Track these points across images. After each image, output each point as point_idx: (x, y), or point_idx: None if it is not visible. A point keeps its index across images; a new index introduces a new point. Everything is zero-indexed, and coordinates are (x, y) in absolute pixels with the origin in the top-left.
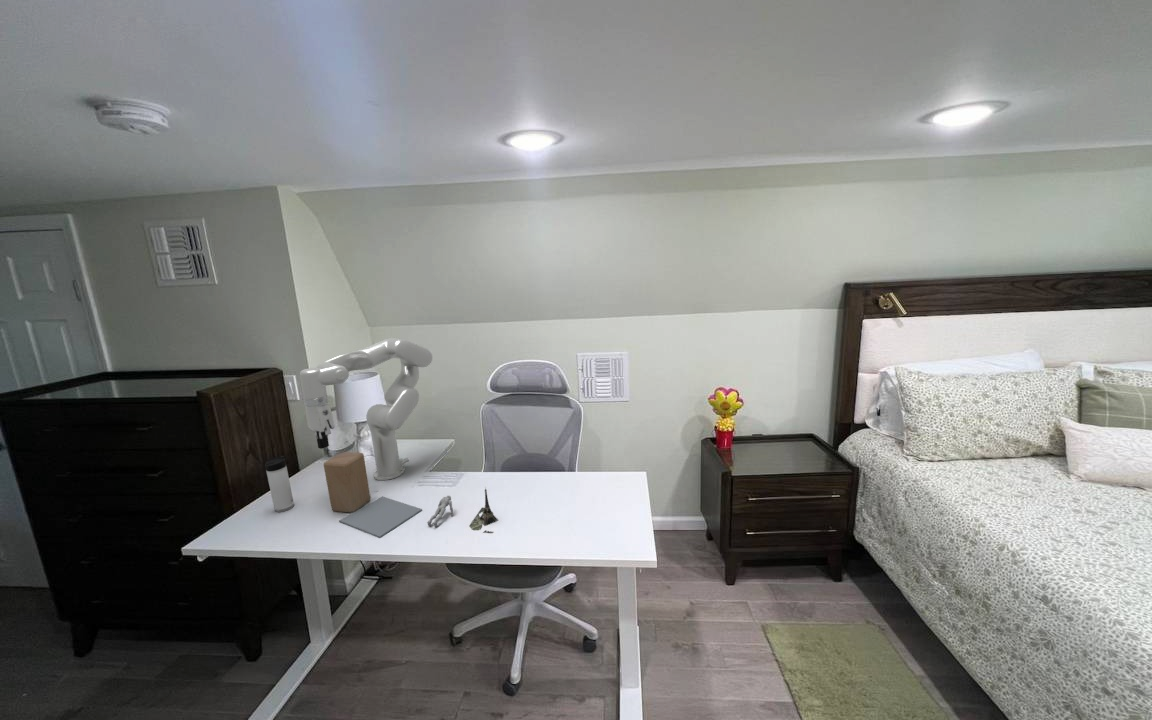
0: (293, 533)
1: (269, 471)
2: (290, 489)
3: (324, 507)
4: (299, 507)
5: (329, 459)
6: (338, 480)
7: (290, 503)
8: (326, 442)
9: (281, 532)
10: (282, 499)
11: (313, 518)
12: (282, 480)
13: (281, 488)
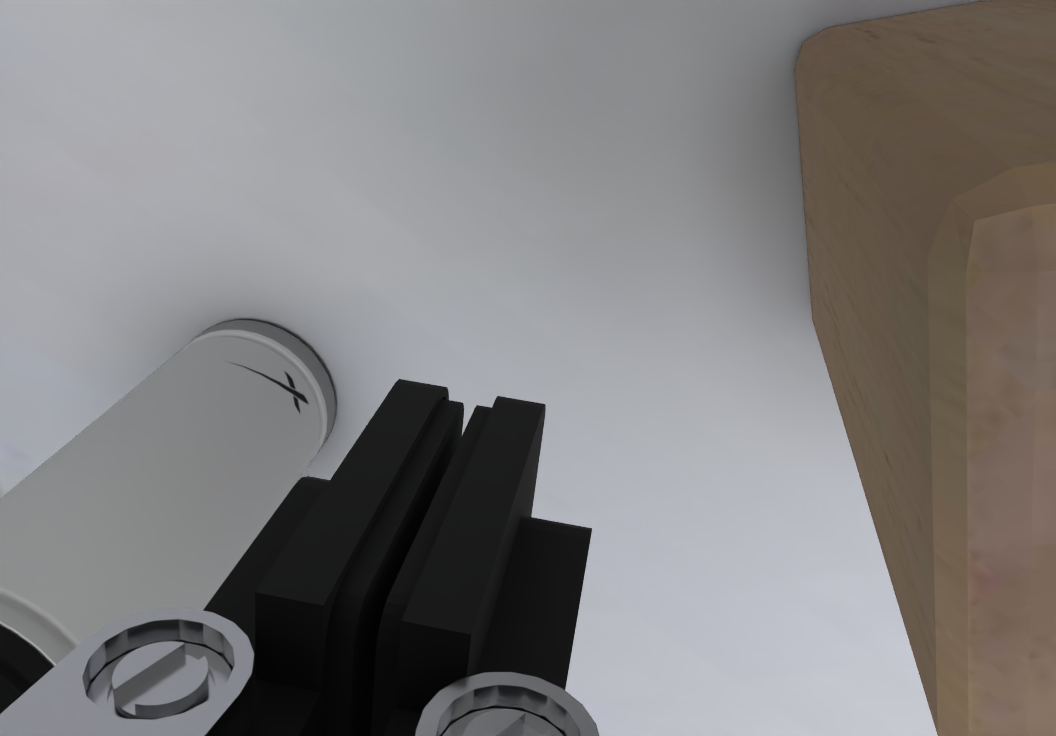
0: (755, 656)
1: None
2: (233, 441)
3: (657, 285)
4: (391, 351)
5: (1031, 704)
6: None
7: (314, 409)
8: (575, 597)
9: (636, 662)
10: (279, 504)
11: (726, 462)
12: None
13: (228, 574)
